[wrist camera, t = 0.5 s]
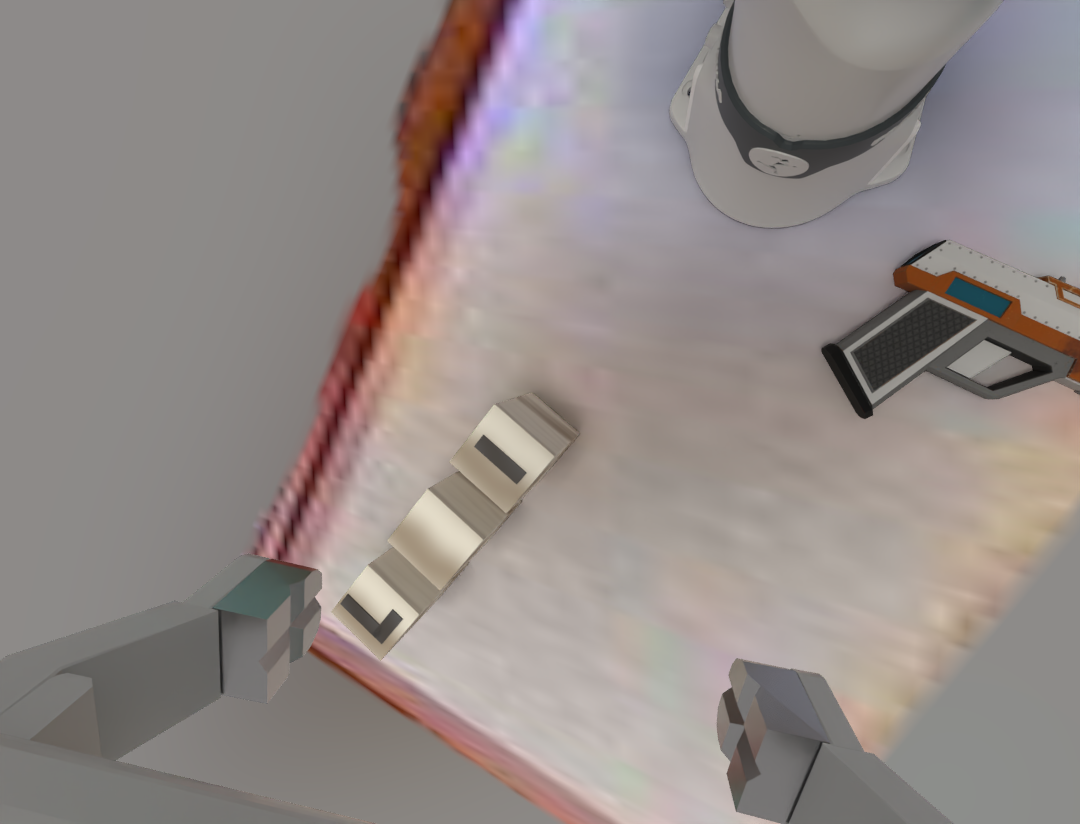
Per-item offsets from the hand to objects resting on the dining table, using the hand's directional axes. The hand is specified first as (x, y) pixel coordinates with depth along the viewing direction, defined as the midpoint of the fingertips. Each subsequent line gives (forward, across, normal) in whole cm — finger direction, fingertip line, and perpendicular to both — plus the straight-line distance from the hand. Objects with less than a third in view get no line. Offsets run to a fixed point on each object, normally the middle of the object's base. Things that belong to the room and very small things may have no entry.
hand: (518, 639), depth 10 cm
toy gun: (+35, -34, -3) cm, 49 cm away
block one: (+39, +3, +10) cm, 40 cm away
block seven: (+38, +11, +26) cm, 47 cm away
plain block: (+38, +7, +18) cm, 43 cm away
